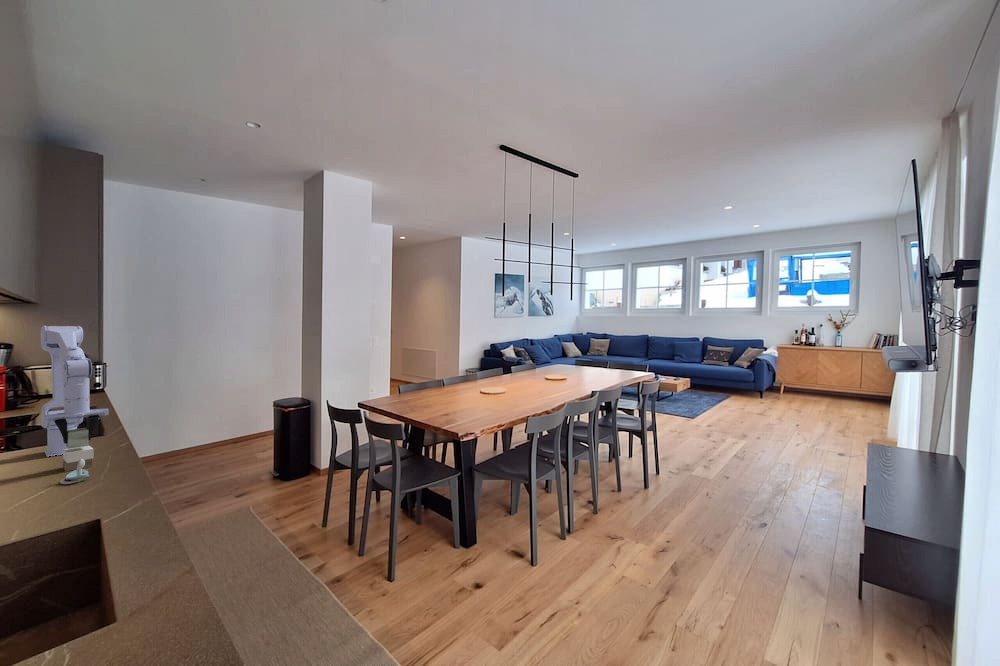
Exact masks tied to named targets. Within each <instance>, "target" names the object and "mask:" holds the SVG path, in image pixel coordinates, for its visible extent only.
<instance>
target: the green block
mask: <svg viewBox="0 0 1000 666" xmlns="http://www.w3.org/2000/svg"><path fill="white" fill-rule="evenodd" d="M67 437H68V443H66V447H67V448H68V449H71V448H78V447H84V446H89V440H88V429H87V427H81V428H77V429H72V430H67Z"/></svg>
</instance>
